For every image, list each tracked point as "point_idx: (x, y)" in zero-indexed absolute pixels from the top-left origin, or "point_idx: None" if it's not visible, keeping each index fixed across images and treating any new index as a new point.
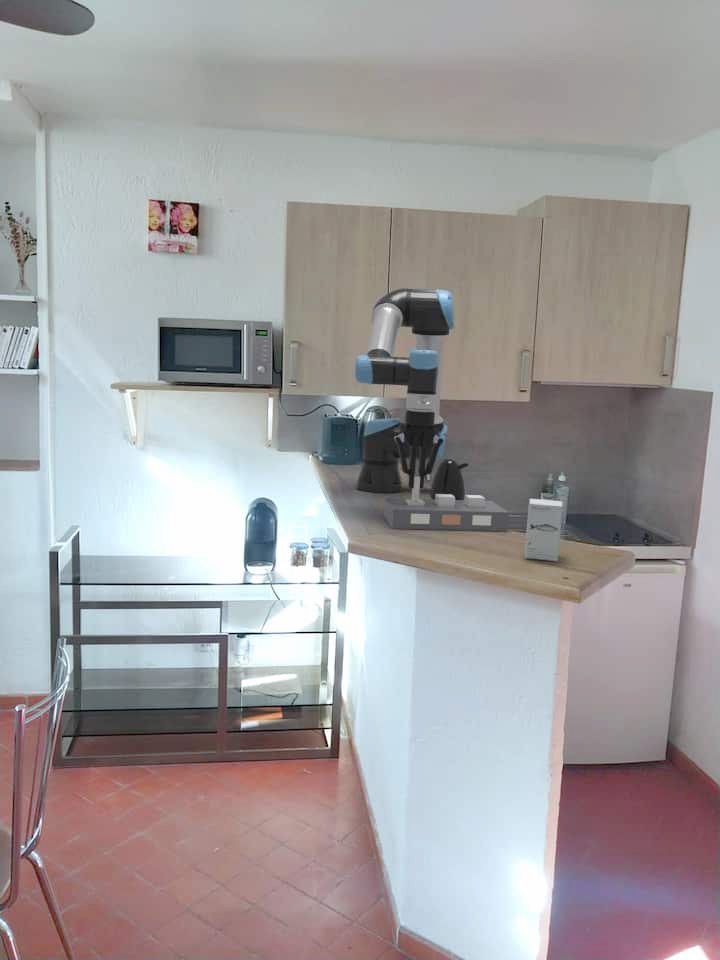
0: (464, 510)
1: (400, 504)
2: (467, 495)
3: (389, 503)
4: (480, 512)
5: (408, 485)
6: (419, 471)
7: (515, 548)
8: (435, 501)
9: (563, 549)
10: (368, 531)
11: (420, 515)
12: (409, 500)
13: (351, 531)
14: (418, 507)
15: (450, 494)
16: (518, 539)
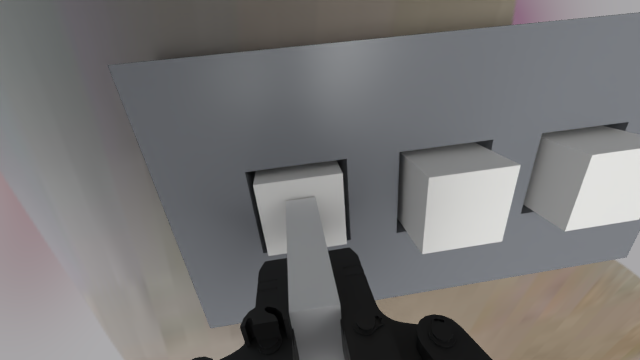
0: (482, 271)
1: (232, 234)
2: (596, 169)
3: (175, 226)
4: (529, 271)
5: (259, 270)
6: (353, 353)
7: (490, 354)
8: (410, 174)
9: (581, 337)
10: (157, 316)
11: None
12: (275, 206)
13: (107, 328)
14: None
15: (513, 167)
16: (540, 290)
